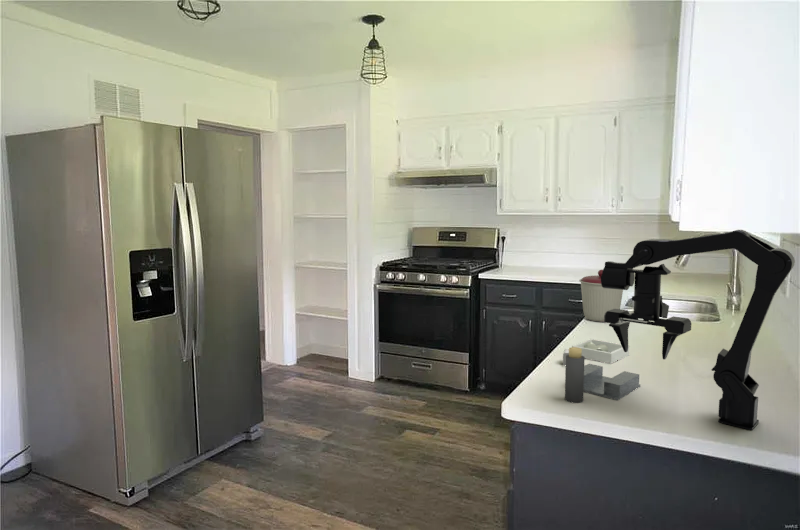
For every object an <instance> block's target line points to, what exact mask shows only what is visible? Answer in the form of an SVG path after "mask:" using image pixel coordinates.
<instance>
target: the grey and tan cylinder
mask: <svg viewBox="0 0 800 530" xmlns="http://www.w3.org/2000/svg"><path fill="white" fill-rule="evenodd" d="M568 349H569V355H566V366H565V373H564V374H565V376H564V377H565V379H564V400H565V401H566V402H568V403H572V402H573V404H574V403H575V404H579V403H583V402H584V393H585V392H584V366H585V357H584V356H582V349H581V348H577V347H572V346H571V347H569V348H568Z"/></svg>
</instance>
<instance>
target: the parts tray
mask: <svg viewBox="0 0 800 530" xmlns="http://www.w3.org/2000/svg"><path fill="white" fill-rule="evenodd" d="M588 342H592V343H593V344H595V345H596V346H598V345H601V344H604V345H606V346H607V347H608V352H604V351H598V350H593V349H588V348H584V346H585V344H586V343H588ZM571 347H577V348H581V349H582V356H584V357H585V358H586V360H589V359H592V360H591V361H594V360H596V361H595V362H599V361H600V362H601V363H604V362H605V363H604V364H609V363H610V365H612V364H614V363H616V362H618V361H621V360H622V359H625V358H627V357H628V356H630V345H629V344H628V351H627V352H624V350H623V348H622V345H621V343H616V342H612V341H611V342H610V341H605V340H599V339H594V338H589V339H585V340H584V341H582V342H578V343H576V344H573V345H571ZM610 352H611V353H610ZM626 356H627V357H626ZM624 357H625V358H624ZM585 358H584V359H585ZM617 360H618V361H617ZM615 361H616V362H615ZM613 362H614V363H613ZM611 363H612V364H611Z"/></svg>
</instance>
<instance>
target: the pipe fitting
mask: <svg viewBox="0 0 800 530" xmlns="http://www.w3.org/2000/svg"><path fill="white" fill-rule="evenodd" d="M584 348H588V349H593V350H598V351H604V352H608V347H607V346H606V345H604V344H601V345H598V346H596V345H595V344H593V343H592V342H588V343H586V344H585V346H584Z"/></svg>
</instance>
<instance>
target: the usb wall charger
mask: <svg viewBox="0 0 800 530" xmlns="http://www.w3.org/2000/svg"><path fill="white" fill-rule="evenodd" d="M566 355H569V348H564V351H563V353H562V365H563V366H565V365H566Z"/></svg>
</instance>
